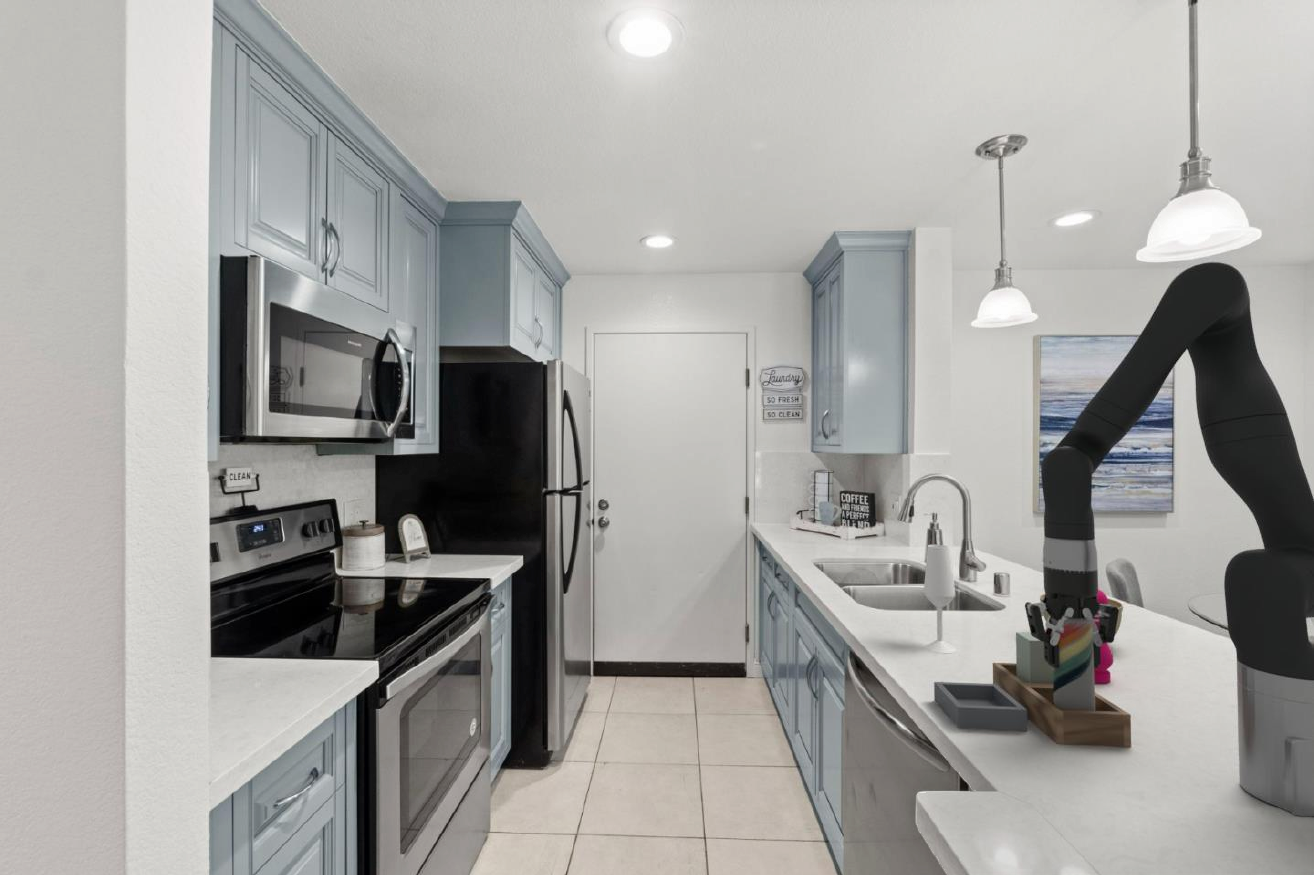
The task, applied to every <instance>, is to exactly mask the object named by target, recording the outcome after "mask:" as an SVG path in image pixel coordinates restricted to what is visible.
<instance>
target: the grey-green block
mask: <svg viewBox="0 0 1314 875" xmlns="http://www.w3.org/2000/svg"><path fill="white" fill-rule="evenodd" d="M1015 648H1016V649H1015V650H1016V651H1015V654H1016V655H1015V656H1016V657H1015V658H1016V659H1015V660H1016V662H1015V664H1016V669H1017V678H1019V679H1020V680H1021V681H1023V682H1024V683H1043V684H1053V667H1052V666H1050V665H1049V664H1048V662H1046V661H1045V659H1044V643H1043V641H1040V640H1038V639H1036V638H1035V637H1033V636H1032V635H1031V632H1030V631H1029V632H1024V631H1022V632H1021V631H1018V632H1017V631H1015Z"/></svg>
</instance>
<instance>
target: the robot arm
mask: <svg viewBox="0 0 1314 875" xmlns="http://www.w3.org/2000/svg"><path fill="white" fill-rule="evenodd" d="M1247 285H1248V284H1247V282H1246V279H1245V277H1244V275H1243V273H1241V271H1240V270H1238V269H1237V268H1236V267H1234V266H1233V265H1230V264H1228V263H1226V262H1220V261H1209V262H1208V261H1207V262H1202V263H1198V264H1194V265H1193V266H1190V267H1188V268H1186V269H1185V270H1183V271H1181V272H1179V274H1177V275H1176V276H1175V277H1174V278H1173V279H1172V281H1171V282H1170V283H1169V285H1168V286H1167V288H1166V290H1165V292H1164V293H1163V295H1162V297H1161V298H1160V300H1159V302H1158V304H1157V306H1156V307H1155V309H1154V311H1153V313H1152V315H1151V316H1150V319H1149V320H1148V322H1147V324H1145V326H1144V328H1143V330H1142V331H1141V333H1140V334H1139V336H1138V338H1137V339H1136V340H1135V342H1134V343H1133V346H1132V347H1131V348H1130V350H1129V351H1128V352H1127V354H1126V355H1125V356H1124V358H1123V359H1122V360H1121V361H1120V363H1119V364H1118V366H1117V367H1116V368H1115V370H1114V371H1113V372H1112V374H1110V376H1109V377H1108V379H1107V380H1105V383H1104V384H1103V385H1102V386H1101V387H1100V389H1099V390H1098V391H1097V392H1096V393H1095V395H1094V396H1093V397H1092V399H1091V400H1090V401H1089V402H1088V403H1087V405H1086V406H1085V407H1084V408H1083V410H1081V412H1080V414H1079V415H1078V417H1077V418H1076V420H1075V422H1074V424H1073V426H1072V427H1071V428H1070V430H1069V431H1068V432H1067V433H1066V434H1065V436H1064V437H1063V438H1062V439H1061V441H1059V443H1057V445H1056V446H1055V447H1054V448H1053V449H1051V450H1050V451H1048V452H1047V453H1046V454H1045V455H1044V457H1043V458H1042V461H1041V466H1040V475H1041V476H1040V477H1041V478H1040V479H1041V486H1042V487H1041V488H1042V495H1043V502H1044V512H1043V529H1044V530H1043V533H1044V536H1043V537H1044V538H1043V539H1044V540H1043V546H1042V547H1043V548H1042V562H1043V563H1042V568H1043V589H1044V590H1043V591H1044V594H1045V597H1044V599H1043V601H1042V602H1041V601H1040V602H1036V603H1035V602H1034V603H1032V602H1030V601H1029V602H1028V601H1027V602H1025V603H1024V609H1025V612H1026V617H1027V618H1026V619H1027V621H1028V622H1027V623H1028V626H1029V633H1031V635H1032V636H1033V637H1035V638H1036V639H1038V640H1040V641H1043V643H1044V659H1045V661H1046V662H1048V664H1049V665H1050V666H1052V667H1053V668H1059V646H1058V645H1057V643H1058V641H1059V639H1060V634H1062V633H1063V632H1064V620H1068V619H1071V618H1072V616H1073V613H1074V610H1073V609H1072V608H1070V607H1066V606H1065V597H1075V598H1085V607H1084V608H1083V609H1082V614H1083V617H1082V618H1084V619H1085V620H1091V621H1092V626H1093V651H1094V669H1098V665H1100V663H1101V649H1100V647H1101V646H1102V644H1104V643H1107V642H1108V644H1112V643H1114V642H1115V636H1116V635H1115V631H1116V625H1117V619H1118V613H1119V610H1118V608H1116V607H1114V606H1112V605H1109V604H1099V602H1098V600H1097V595H1098V589H1099V574H1098V570H1099V568H1098V553H1097V552H1098V551H1097V546H1096V537H1095V536H1096V535H1095V534H1096V532H1095V531H1096V530H1095V528H1096V527H1095V515H1094V511H1093V507H1092V494H1093V491H1092V490H1093V485H1092V484H1093V474H1094V473H1095V472H1096V470H1097V469H1098V468H1099V467H1100V465H1101V464H1102V463H1103V461H1104V460H1105V459H1106V457H1107V456H1108V454H1109V453H1110V451H1112V449H1113V448H1114V447H1115V446H1116V445H1117V444H1118V443H1120V442H1121V440H1123V438H1125V437H1126V435H1128V433H1129V432H1130V431H1131V429H1132V428H1133V427H1135V425H1136V424H1137V422H1138V421H1139V420H1140V419H1141V417H1143V415H1144V414H1145V413H1146V411H1147V410H1148V409H1149V407H1150V406H1151V405H1152V403H1153V402H1154V401H1155V399H1156V397H1157V395H1158V394H1159V393H1160V391H1161V389H1162V386H1164V384H1165V381H1166V380H1167V378H1168V376H1169V375H1170V374H1171V372H1172V370H1173V369H1174V367H1175V365H1177V363H1178V362H1179V360H1180V358H1181V357H1182V356H1183V354H1185V352H1187V353H1188V355H1189V357H1190V360H1191V363H1192V366H1193V371H1194V378H1195V379H1194V381H1195V402H1196V405H1195V406H1196V412H1197V418H1198V419H1197V420H1198V424H1199V429H1200V433H1201V436H1202V439H1203V443H1204V447H1205V451H1206V454H1207V456H1208V459H1209V461H1210V463H1211V465H1212V466H1213V468H1214V469H1215V470H1216V472H1217V473H1218V475H1220V477H1221V478H1222V479H1223V480H1224V482H1225V483H1226V484H1227V485H1228V486H1229V487H1230V488H1231V489H1232V490H1233V491H1234V493H1235V494H1236V495H1237V496H1238V497H1239V498H1240V499H1241V500H1242V501H1243V503H1244V505H1246V506H1247V508H1248V509H1249V511H1250V512H1251V514H1252V516H1253V518H1254V520H1255V522H1256V526H1257V527H1258V530H1259V534H1260V536H1261V540H1262V544H1263V548H1256V549H1247V550H1243V551H1240V552H1238V553H1237V554H1235V555H1234V556H1233V557H1231V559H1230V560H1229V562H1228V564H1227V565H1226V568H1225V571H1224V572H1225V573H1224V580H1223V583H1224V584H1223V587H1224V588H1223V589H1224V600H1225V610H1226V612H1225V614H1226V622H1227V630H1228V635H1229V637H1230V640H1231V642H1232V644H1233V647H1234V648H1235V651H1236V680H1237V681H1236V686H1237V690H1236V691H1237V692H1236V694H1237V696H1236V697H1237V728H1238V730H1237V731H1238V734H1237V737H1238V763H1239V764H1238V770H1239V771H1238V773H1239V785H1240V786H1241V788H1242V789H1243V790H1244V791H1246V792H1247V793H1248V794H1250V795H1252V796H1253V797H1255V798H1257V799H1259V800H1261V801H1263V802H1265V803H1267V804H1270V805H1273V806H1276V807H1278V808H1281V809H1283V810H1286V811H1288V812H1289V813H1291V814H1293V815H1295V816H1305V817H1307V816H1309V817H1314V645H1313V644H1312V642H1311V640H1310V638H1309V632H1308V623H1307V619H1310V618H1311V619H1312V618H1314V495H1313V493H1312V489H1311V487H1310V483H1309V480H1308V478H1307V475H1306V472H1305V469H1304V467H1303V464H1302V460H1301V457H1300V454H1299V450H1298V446H1297V441H1296V438H1295V434H1294V431H1293V428H1292V426H1291V422H1290V419H1289V416H1288V413H1287V410H1286V407H1285V404H1284V403H1283V401H1282V398H1281V396H1280V393H1279V391H1278V389H1277V387H1276V386H1275V383H1274V381H1273V380H1272V377H1271V376H1270V374H1269V373H1268V371H1267V369H1266V367H1265V366H1264V364H1263V362H1262V360H1261V358H1260V356H1259V352H1258V349H1257V345H1256V339H1255V334H1254V327H1253V322H1252V314H1251V313H1252V312H1251V298H1250V292H1249V289H1248V286H1247ZM1044 610H1046V611H1047V612H1048V614H1049V617H1048V619H1047V621H1045V625H1044V620H1043V617H1044V616H1043V615H1044ZM1097 612H1098V613H1099V615H1100V618H1099V624H1098V628H1097V626H1096V624H1095V622H1094V620H1093V618H1094V616H1095V615H1096V614H1097ZM1051 618H1052V619H1055V620H1059V621H1058V624H1057V625H1056V626H1055V625H1053V624H1052V621H1051ZM1062 625H1063V627H1062ZM1052 630H1053V631H1052Z"/></svg>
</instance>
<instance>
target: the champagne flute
mask: <svg viewBox="0 0 1314 875" xmlns="http://www.w3.org/2000/svg"><path fill="white" fill-rule="evenodd" d="M924 574H925V575H924V586H923V587H924V588H923V593H924V595H925V597H926V599H927V600H928V601H929V602H930V603H931V604H932V605H934V607H936V625H937V626H936V633H937V634H936V635H937V636H936V639H937V640H933V641H932V642H930V643H928V644H925V645H924V648H925V649H926V650H928V651H929V652H930V651H931V652H934V653H939V654H953V653H954V654H955V653H956V652H957V649H956V648H955V647H953V646H952V645H950V644H948V643H947V642H946V641H945V640H943V639H944V635H943V634H944V633H943V632H944V631H943V630H944V628H943V626H944V625H943V624H944V623H943V621H944V620H943V619H944V617H943V608H944V607H946V606H948V605H949V604H950V603H951V602H952V601H953V600H954V599H955V597H956V590H955V589H956V588H955V587H956V586H955V580H954V571H953V562H952V553H951V546H949V545H943V544H928V545H927V552H926V563H925V573H924Z"/></svg>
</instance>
